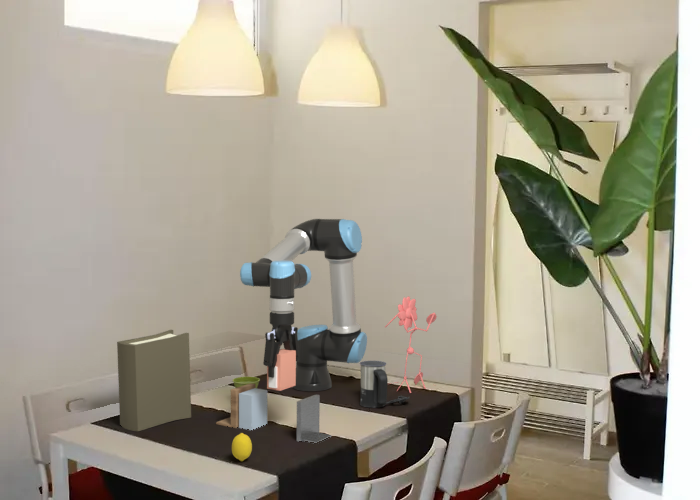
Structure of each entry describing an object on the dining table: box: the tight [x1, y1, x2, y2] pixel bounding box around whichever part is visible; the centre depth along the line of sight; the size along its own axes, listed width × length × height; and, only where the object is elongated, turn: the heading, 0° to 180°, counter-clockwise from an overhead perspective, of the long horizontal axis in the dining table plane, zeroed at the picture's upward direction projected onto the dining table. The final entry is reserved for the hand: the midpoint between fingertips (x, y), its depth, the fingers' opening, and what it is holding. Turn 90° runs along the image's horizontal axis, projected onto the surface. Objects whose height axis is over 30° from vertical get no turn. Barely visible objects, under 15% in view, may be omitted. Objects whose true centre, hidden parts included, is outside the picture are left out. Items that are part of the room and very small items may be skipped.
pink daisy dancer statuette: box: [384, 296, 438, 394], centre depth 309 cm, size 15×26×35 cm, turn 139°
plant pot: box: [232, 376, 261, 389], centre depth 285 cm, size 9×9×9 cm
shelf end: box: [215, 383, 256, 429], centre depth 263 cm, size 10×8×12 cm
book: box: [116, 329, 192, 432], centre depth 262 cm, size 22×9×28 cm, turn 140°
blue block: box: [238, 387, 268, 431], centre depth 260 cm, size 8×5×11 cm, turn 148°
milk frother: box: [359, 360, 410, 409], centre depth 287 cm, size 14×16×15 cm
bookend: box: [296, 394, 332, 444], centre depth 247 cm, size 10×6×12 cm, turn 149°
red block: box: [266, 348, 296, 391], centre depth 253 cm, size 8×5×11 cm, turn 149°
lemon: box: [231, 432, 253, 462], centre depth 227 cm, size 6×6×8 cm
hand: (281, 384), depth 253 cm, fingers closed on red block, 8 cm apart
